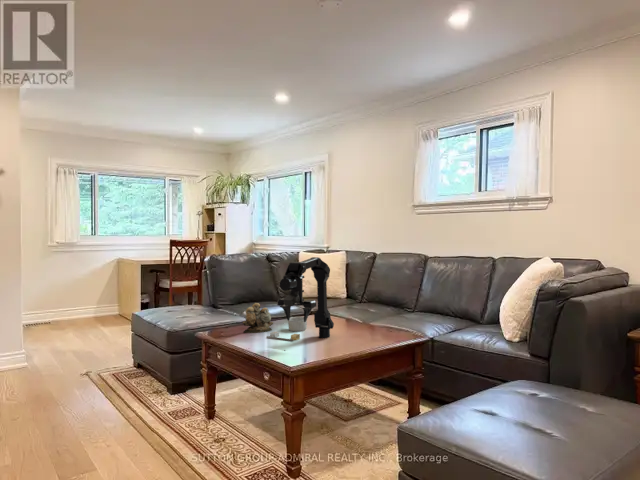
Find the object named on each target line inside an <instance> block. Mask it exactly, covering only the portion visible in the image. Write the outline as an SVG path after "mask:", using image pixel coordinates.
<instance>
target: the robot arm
mask: <svg viewBox="0 0 640 480" xmlns="http://www.w3.org/2000/svg"><path fill="white" fill-rule="evenodd" d="M309 269H310V270H311V271H312V273H313V278H314V279H315V281H316V289H317V292H316V293H317V302H316V300H312V299H307V300H305V298H303V293H305V290H304V288H303V287H304V286H303V281H304V280H303V279H305V275H303V274H305V273H306V271H307V270H309ZM330 272H331V268H330V266H329V265H328V264H327V263H326V262H325V261H323V259H321V257H315V256H314V257H313V256H312V257H310V258H308V259H305V260H302V261H290V262H289V264H288V265H287V267H286V271H285V274H284V275H283V277H282V279H280V282H279V287H280V290H283V291H285V292H286V291H289V292H288V294H287V295H286V296H285V297H283V298H278V300H277V302H276V303H277V306H279V308H282V309H283V311H284V314H285V316H286V319H287V321H288V320H290V317H291V309H292V307H293V306H303V307H302V310H303V317H304V322H306V320H308V318H309V315H310V313H311V311H312V309H314V308H315V307H317V310H316V312H314V314H313V318H314V319H313V322H314V326H315V328H318V338H319V339H327V338H330V336H331V334H330V333H331V332H330V331H331V329H332V330H333V329H334V325H335V323H334V322H333V320H332V317H331V313H330V311H329V310H328V295H327V294H328V293H327V292H328V291H327V289H328V288H327V284H328V283H327V281H328V280H329V278H330Z"/></svg>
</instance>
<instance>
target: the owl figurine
mask: <svg viewBox="0 0 640 480" xmlns="http://www.w3.org/2000/svg"><path fill="white" fill-rule="evenodd" d="M260 308H261V304H260V303H259V302H254V303H253V304H252V306H249V307H246V309H245V320H244V321H242V324H243V326H245V327H248V328H246V329H245V330H243V334H246V333H248V334H259V333H260V334H261V333H267V332H272V331H273V328H272V327H271V326H272V325H274V322H273V321H271V319H272V316H271V312H269V309H268V307H262V308H261V309H260Z"/></svg>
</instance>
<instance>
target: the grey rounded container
mask: <svg viewBox="0 0 640 480" xmlns="http://www.w3.org/2000/svg"><path fill="white" fill-rule="evenodd" d="M307 320H308V319H307ZM307 320H306V322H304V316H290V320H287V321H288V322H287V325H288V326H287V327H288V329H289V331H291V332H304V331H305V332H306V329H307V327H308V326H307V325H308V321H307Z"/></svg>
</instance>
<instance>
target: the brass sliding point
mask: <svg viewBox="0 0 640 480" xmlns="http://www.w3.org/2000/svg"><path fill="white" fill-rule="evenodd" d="M289 339H293V341H292V342H294V341H298V340H300V339H301V335H300V333H292V334H290V338H289Z"/></svg>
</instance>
